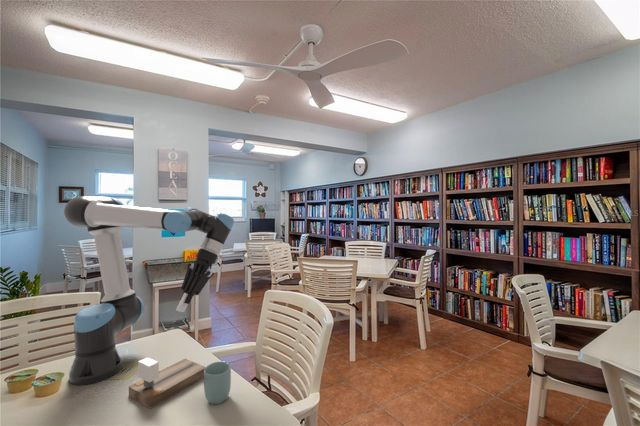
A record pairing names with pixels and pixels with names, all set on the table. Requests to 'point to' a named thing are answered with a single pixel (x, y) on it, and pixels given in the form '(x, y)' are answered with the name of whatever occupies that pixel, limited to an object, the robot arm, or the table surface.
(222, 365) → the cup
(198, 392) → the table surface
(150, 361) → the fader knob
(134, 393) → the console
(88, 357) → the robot arm
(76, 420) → the table surface
